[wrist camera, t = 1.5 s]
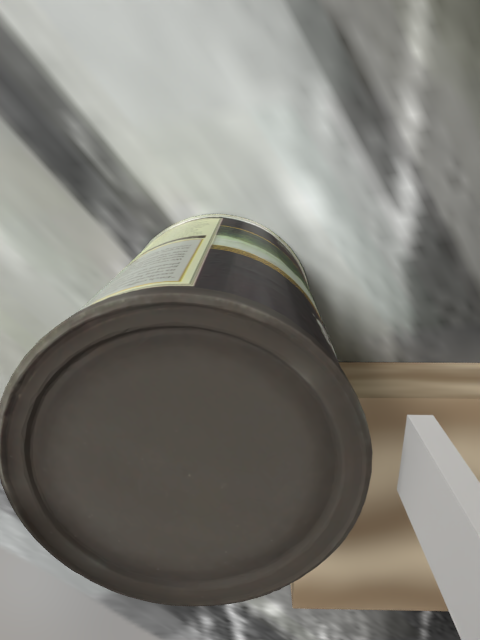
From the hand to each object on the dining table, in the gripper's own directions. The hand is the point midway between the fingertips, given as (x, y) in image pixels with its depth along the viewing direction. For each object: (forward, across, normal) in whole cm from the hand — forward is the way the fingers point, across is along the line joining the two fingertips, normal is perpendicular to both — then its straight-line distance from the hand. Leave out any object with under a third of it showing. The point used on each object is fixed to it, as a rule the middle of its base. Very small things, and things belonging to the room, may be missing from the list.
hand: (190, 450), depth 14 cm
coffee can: (+13, 0, +1) cm, 13 cm away
